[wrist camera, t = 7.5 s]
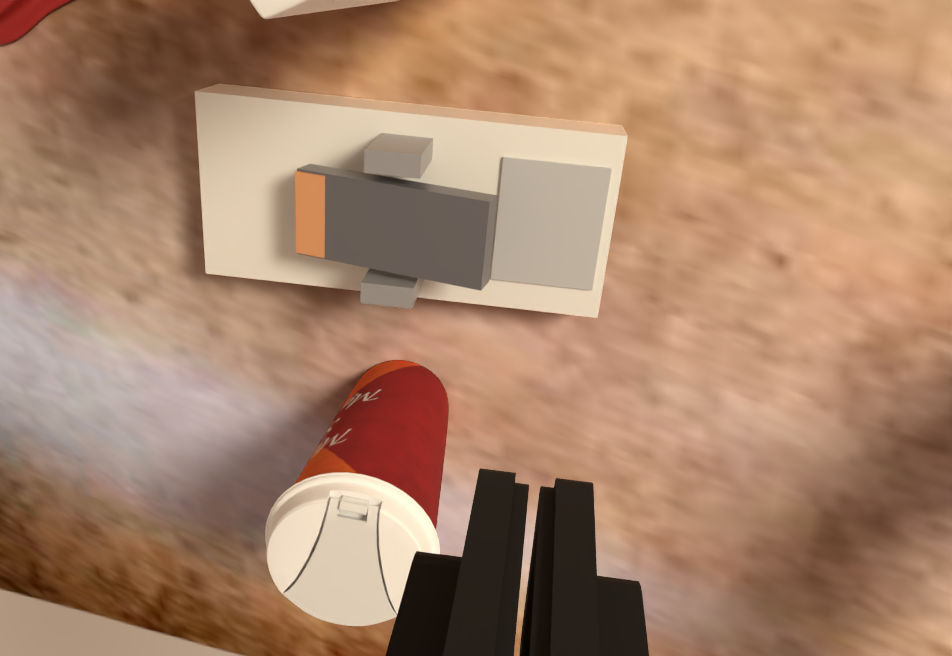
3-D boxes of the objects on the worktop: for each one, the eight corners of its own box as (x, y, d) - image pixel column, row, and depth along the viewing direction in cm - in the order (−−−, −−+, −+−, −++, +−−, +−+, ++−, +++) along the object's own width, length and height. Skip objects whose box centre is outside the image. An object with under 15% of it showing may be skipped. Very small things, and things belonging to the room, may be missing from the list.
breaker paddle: (497, 195, 33) (488, 202, 32) (489, 281, 35) (479, 291, 34) (309, 163, 36) (295, 169, 34) (310, 246, 37) (295, 254, 36)
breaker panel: (622, 125, 38) (636, 153, 32) (594, 295, 41) (602, 350, 35) (219, 83, 39) (157, 103, 32) (227, 254, 42) (173, 301, 36)
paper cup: (343, 330, 44) (260, 474, 31) (477, 356, 44) (449, 512, 31) (330, 446, 47) (249, 619, 34) (455, 470, 47) (421, 653, 34)
